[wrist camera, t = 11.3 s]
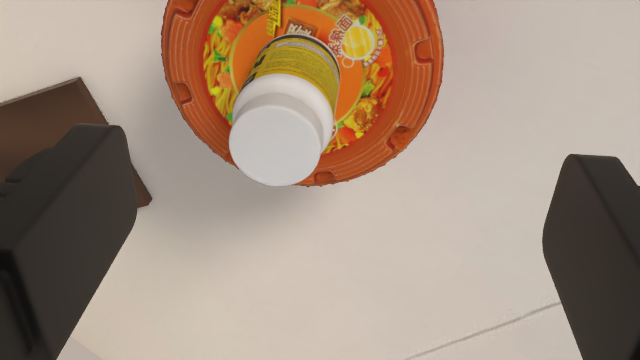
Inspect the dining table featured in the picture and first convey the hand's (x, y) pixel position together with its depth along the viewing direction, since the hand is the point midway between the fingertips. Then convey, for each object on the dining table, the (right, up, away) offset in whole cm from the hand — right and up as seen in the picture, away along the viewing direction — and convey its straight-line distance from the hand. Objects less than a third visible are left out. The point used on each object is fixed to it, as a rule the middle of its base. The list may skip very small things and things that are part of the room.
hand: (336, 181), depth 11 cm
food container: (-1, +12, +30) cm, 32 cm away
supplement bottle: (-1, +6, +21) cm, 22 cm away
